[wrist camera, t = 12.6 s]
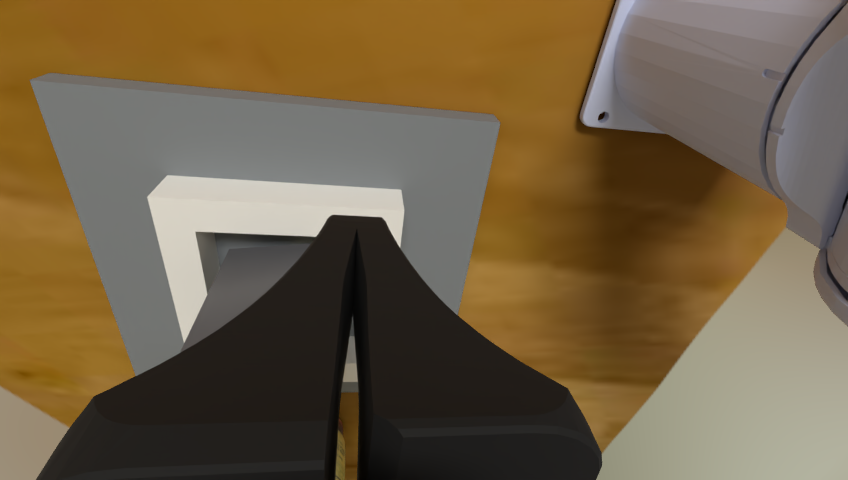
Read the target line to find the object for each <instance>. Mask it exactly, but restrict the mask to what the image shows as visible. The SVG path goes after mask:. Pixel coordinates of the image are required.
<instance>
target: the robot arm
mask: <svg viewBox="0 0 848 480" xmlns="http://www.w3.org/2000/svg"><path fill="white" fill-rule="evenodd" d="M602 112H605V116H604V118H603V119H601V120H598V116H599V115H600V114H601V113H602ZM580 120H581V122H582V123H583V124H584V125H586V126H589V127H597V128H608V129H619V130H630V131H641V132H651V133H662V134H668V135H670V136H672V137H673V138H675V139H677V140H678V141H680V142H682V143H684V144H685V145H687V146H689V147H691V148H692V149H694V150H696V151H698V152H699V153H701V154H703V155H705V156H706V157H708V158H710V159H712V160H713V161H715V162H717V163H718V164H720V165H722V166H724V167H725V168H727V169H729V170H731V171H732V172H734V173H736V174H738V175H739V176H741V177H743V178H745V179H746V180H748V181H750V182H752V183H753V184H755V185H757V186H758V187H760V188H762V189H764V190H765V191H767V192H769V193H771V194H772V195H774V196H776V197H778V198H779V199H781V200H783V201H784V202H785V204H786V206H787V210H788V220H787V224H786V227H787V228H788V229H790V230H791V231H793V232H794V233H796V234H798V235H799V236H800V237H802V238H804V239H805V240H807V241H808V242H810V243H811V244H813V245H815V246H816V247H818V248H819V249H820V251H819V253H818V256H817V258H816V261H815V266H814V279H815V285H816V288H817V290H818V292H819V294H820V296H821V298H822V299H823V301H824V302H825V303H826V304H827V306H828V307H829V308H830V310H831V311H832V312H833V313H834V314H835V315H836V316H837V317H838V318H839V319H840V320H842V321H843V322H844V323H845V324H846V325H847V326H848V0H616V3H615V6H614V9H613V12H612V16H611V19H610V22H609V25H608V28H607V31H606V34H605V37H604V41H603V44H602V47H601V50H600V53H599V56H598V59H597V62H596V65H595V69H594V72H593V75H592V78H591V81H590V84H589V87H588V90H587V94H586V97H585V100H584V103H583V106H582V109H581V112H580ZM352 317H353V324H354V338H355V352H356V365H357V379H358V395H359V426H358V468H357V480H596V478H597V476H598V474H599V471H600V469H601V467H602V455H601V451H600V448H599V446H598V444H597V442H596V440H595V438H594V436H593V434H592V432H591V429H590V427H589V425H588V423H587V421H586V419H585V417H584V416H583V414H582V412H581V410H580V409H579V407H578V405H577V404H576V402H575V400H574V399H573V397H572V395H571V393H570V392H569V390H568V388H566V387H564V386H562V385H561V384H559V383H557V382H555V381H554V380H552V379H550V378H548V377H546V376H545V375H543V374H541V373H539V372H538V371H536V370H534V369H532V368H531V367H529V366H527V365H525V364H523V363H522V362H520V361H519V360H517V359H516V358H514V357H513V356H511V355H510V354H508V353H507V352H505V351H504V350H502V349H501V348H499V347H498V346H496V345H495V344H493V343H492V342H490V341H489V340H488V339H486V338H485V337H484V336H482V335H481V334H480V333H478V332H477V331H476V330H475V329H473V328H472V327H471V326H470V325H468V324H467V323H466V322H465V321H464V320H462V319H461V318H460V317H459V316H458V315H457V314H455V313H454V312H453V311H452V310H451V309H450V308H449V307H448V306H447V305H446V304H445V303H444V302H443V301H442V300H441V299H440V298H439V297H438V296H437V295H436V294H435V293H434V292H433V291H432V289H431V288H430V287H429V286H428V285H427V284H426V282H425V281H424V280H423V279H422V278H421V276H420V275H419V274H418V273H417V271H416V270H415V269H414V267H413V266H412V265H411V263H410V262H409V260H408V259H407V257H406V256H405V254H404V253H403V252H402V250H401V248H400V247H399V245H398V244H397V242H396V240H395V239H394V237H393V235H392V233H391V232H390V230H389V228H388V226H387V223H386V221H385V220H384V219H383V218H382V217H369V216H349V215H331V216H330V217H329V218H327V220H326V222H325V224H324V226H323V227H322V229H321V230H320V232H319V233H318V235H317V236H316V238H315V239H314V240H313V242H312V243H311V244H310V245H309V247H308V248H307V249H306V250H305V252H304V253H303V254H302V255H301V257H300V258H299V259H298V260H297V261H296V262H295V264H294V265H293V266H292V267H291V268H290V269H289V270H288V271H287V272H286V273H285V274H284V275H283V276H282V277H281V278H280V279H279V280H278V281H277V282H276V283H275V284H274V285H273V286H272V287H271V288H270V289H269V290H268V291H267V292H266V293H265V294H263V295H262V296H261V297H260V298H259V299H258V300H256V301H255V302H254V303H253V304H252V305H250V306H249V307H248V308H247V309H245V310H244V311H243V312H241V313H240V314H239V315H237V316H236V317H235V318H233V319H232V320H231V321H229V322H228V323H226V324H225V325H224V326H222V327H221V328H220V329H218V330H217V331H215V332H214V333H212V334H210V335H209V336H207V337H206V338H204V339H202V340H201V341H199V342H198V343H196V344H194V345H193V346H191V347H189V348H187V349H186V350H184V351H182V352H181V353H179V354H177V355H175V356H174V357H172V358H170V359H168V360H166V361H165V362H163V363H161V364H159V365H157V366H155V367H153V368H151V369H149V370H147V371H145V372H143V373H141V374H139V375H137V376H135V377H133V378H131V379H129V380H127V381H125V382H123V383H121V384H119V385H117V386H115V387H113V388H111V389H109V390H107V391H105V392H103V393H100V394H98V395H96V396H94V397H93V398H92V400H91V401H90V402H89V404H88V405H87V407H86V408H85V409H84V410H83V412H82V413H81V414H80V415H79V417H78V418H77V419H76V420H75V422H74V423H73V424H72V425H71V427H70V428H69V430H68V431H67V433H66V434H65V436H64V437H63V438H62V440H61V442H60V443H59V444H58V446H57V447H56V449H55V451H54V452H53V454H52V455H51V457H50V459H49V460H48V462H47V463H46V465H45V466H44V468H43V470H42V471H41V473H40V474H39V476H38V477H37V479H36V480H335V478H336V460H337V442H338V424H339V408H340V398H341V390H342V383H343V377H344V370H345V363H346V357H347V350H348V344H349V337H350V330H351V324H352Z"/></svg>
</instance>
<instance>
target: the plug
mask: <svg viewBox="0 0 848 480" xmlns="http://www.w3.org/2000/svg"><path fill="white" fill-rule="evenodd" d="M309 245H310V244H297V245H281V246H265V247H249V248H234V249H229V250H228V252H227V254H226V257H225V259H224V261H223V263H222V265H221V267H220V269H219V271H218V273H217V275H216V278H215V280H214V282H213V284H212V286H211V288H210V290H209V292H208V294H207V296H206V298H205V301H204V303H203V305H202V307H201V309H200V311H199V313H198V315H197V317H196V319H195V322H194V324H193V326H192V328H191V330H190V332H189V334H188V336H187V338H186V340H185V343H184V345H183V347H182V349H181V351H180V352H182V351H184V350H186V349H187V348H189V347H191V346H193V345H194V344H196V343H198V342H199V341H201V340H202V339H204V338H206V337H207V336H209V335H210V334H212V333H214V332H215V331H217V330H218V329H220V328H221V327H222V326H224V325H225V324H226V323H228V322H229V321H231V320H232V319H233V318H235V317H236V316H237V315H239V314H240V313H241V312H243V311H244V310H245V309H247V308H248V307H249V306H250V305H252V304H253V303H254V302H255V301H256V300H258V299H259V298H260V297H261V296H262V295H263V294H265V293H266V292H267V291H268V290H269V289H270V288H271V287H272V286H273V285H274V284H275V283H276V282H277V281H278V280H279V279H280V278H281V277H282V276H283V275H284V274H285V273H286V272H287V271H288V270H289V269H290V268H291V267H292V266H293V265H294V264H295V262H296V261H297V260H298V259H299V258H300V257H301V255H302V254H303V253H304V252H305V250H306V249H307V248H308V247H309Z"/></svg>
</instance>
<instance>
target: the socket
mask: <svg viewBox="0 0 848 480" xmlns="http://www.w3.org/2000/svg"><path fill="white" fill-rule="evenodd" d="M30 82H31V85H32V88H33V91H34V93H35V96H36V99H37V102H38V104H39V107H40V110H41V113H42V116H43V118H44V121H45V124H46V127H47V130H48V132H49V135H50V138H51V141H52V143H53V146H54V149H55V152H56V155H57V157H58V160H59V163H60V166H61V169H62V171H63V174H64V177H65V180H66V182H67V185H68V188H69V191H70V194H71V196H72V199H73V202H74V205H75V208H76V210H77V213H78V216H79V219H80V221H81V224H82V227H83V230H84V233H85V235H86V238H87V241H88V244H89V247H90V249H91V252H92V255H93V258H94V260H95V263H96V266H97V269H98V272H99V274H100V277H101V280H102V283H103V286H104V288H105V291H106V294H107V297H108V299H109V302H110V305H111V308H112V311H113V313H114V316H115V319H116V322H117V325H118V327H119V330H120V333H121V336H122V338H123V341H124V344H125V347H126V350H127V352H128V355H129V358H130V361H131V364H132V366H133V369H134V372H135V375H136V376H137V375H139V374H141V373H143V372H145V371H147V370H149V369H151V368H153V367H155V366H157V365H159V364H161V363H163V362H165V361H166V360H168V359H170V358H172V357H174V356H175V355H177V354H179V353H181V352H180V351H181V349H182V347H183V345H184V343H185V340H186V338H187V336H188V334H189V332H190V330H191V328H192V326H193V324H194V322H195V319H196V317H197V315H198V313H199V311H200V309H201V307H202V305H203V303H204V301H205V298H206V296H207V294H208V292H209V290H210V288H211V286H212V284H213V282H214V280H215V278H216V275H217V273H218V271H219V269H220V267H221V265H222V263H223V261H224V259H225V257H226V254H227V252H228V250H229V249H234V248H249V247H265V246H281V245H297V244H311V243H312V242H313V240H314V239H315V238H316V236H317V235H318V233H319V232H320V230H321V229H322V227H323V226H324V224H325V222H326V220H327V218H329V217H330V216H331V215H349V216H369V217H382V218H383V219H384V220H385V221H386V223H387V226H388V228H389V230H390V232H391V233H392V235H393V237H394V239H395V240H396V242H397V244H398V245H399V247H400V248H401V250H402V252H403V253H404V254H405V256H406V257H407V259H408V260H409V262H410V263H411V265H412V266H413V267H414V269H415V270H416V271H417V273H418V274H419V275H420V276H421V278H422V279H423V280H424V281H425V282H426V284H427V285H428V286H429V287H430V288H431V289H432V291H433V292H434V293H435V294H436V295H437V296H438V297H439V298H440V299H441V300H442V301H443V302H444V303H445V304H446V305H447V306H448V307H449V308H450V309H451V310H452V311H453V312H454V313H455V314H457V315H458V311H459V306H460V302H461V297H462V293H463V288H464V284H465V279H466V275H467V270H468V266H469V261H470V257H471V252H472V248H473V243H474V239H475V235H476V230H477V226H478V221H479V217H480V212H481V208H482V203H483V199H484V194H485V190H486V185H487V181H488V176H489V172H490V167H491V163H492V158H493V154H494V149H495V145H496V140H497V136H498V131H499V127H500V122H499V121H498V119H497V118H496V117H495V116H494V115H493V114H483V113H472V112H461V111H451V110H440V109H429V108H419V107H408V106H397V105H387V104H376V103H366V102H355V101H344V100H334V99H323V98H312V97H302V96H291V95H280V94H270V93H259V92H248V91H238V90H227V89H216V88H206V87H195V86H184V85H174V84H163V83H152V82H142V81H131V80H120V79H110V78H99V77H88V76H78V75H67V74H56V73H48V74H46V75H43V76H40V77H37V78H34V79H31V80H30ZM341 392H358V379H357V365H356V352H355V338H354V324H353V317H352V324H351V330H350V337H349V344H348V350H347V357H346V363H345V370H344V377H343V383H342V390H341Z"/></svg>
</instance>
